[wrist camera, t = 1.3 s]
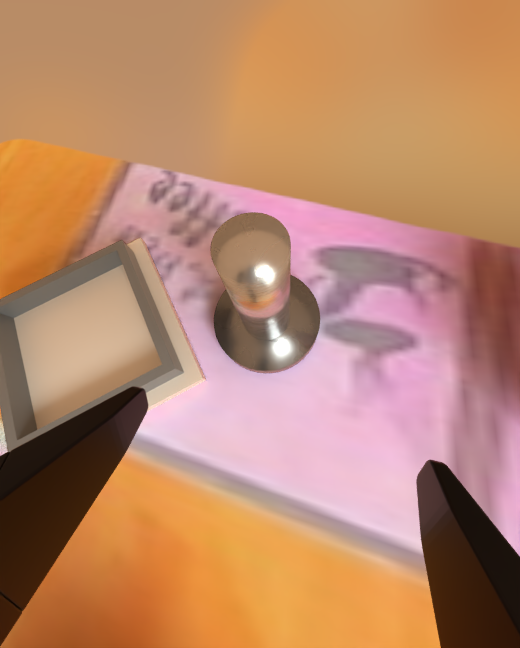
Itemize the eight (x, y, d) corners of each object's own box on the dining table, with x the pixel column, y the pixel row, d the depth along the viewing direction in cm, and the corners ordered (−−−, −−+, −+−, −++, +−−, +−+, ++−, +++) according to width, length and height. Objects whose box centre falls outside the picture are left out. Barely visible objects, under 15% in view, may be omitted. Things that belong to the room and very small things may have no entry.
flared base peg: (245, 392, 24) (204, 368, 12) (202, 305, 26) (138, 221, 15) (338, 341, 24) (381, 274, 13) (286, 262, 27) (285, 150, 16)
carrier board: (31, 473, 23) (-5, 480, 20) (0, 314, 28) (-32, 302, 26) (206, 380, 24) (195, 374, 21) (145, 243, 29) (130, 224, 27)
